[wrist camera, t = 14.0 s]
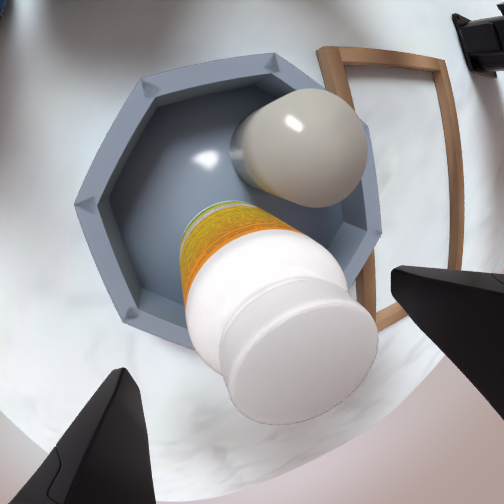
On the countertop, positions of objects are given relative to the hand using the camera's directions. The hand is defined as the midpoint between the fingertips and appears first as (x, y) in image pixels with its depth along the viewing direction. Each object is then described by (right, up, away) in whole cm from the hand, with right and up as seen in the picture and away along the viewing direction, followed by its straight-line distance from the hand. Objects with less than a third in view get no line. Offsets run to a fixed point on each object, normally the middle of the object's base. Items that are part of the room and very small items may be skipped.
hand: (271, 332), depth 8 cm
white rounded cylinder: (0, +8, +6) cm, 10 cm away
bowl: (-2, +5, +7) cm, 9 cm away
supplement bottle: (-2, +2, +7) cm, 8 cm away
